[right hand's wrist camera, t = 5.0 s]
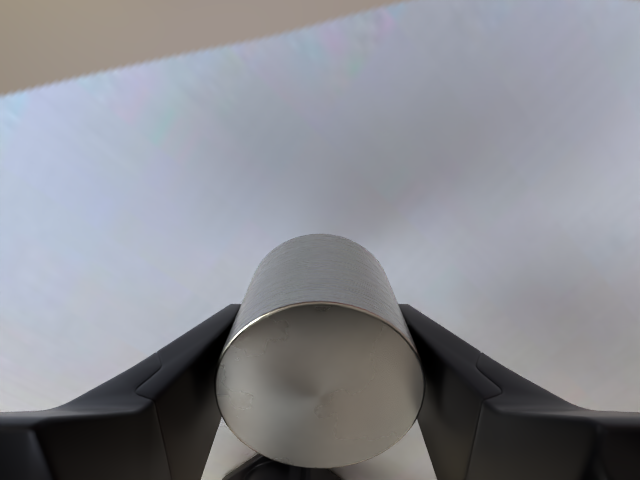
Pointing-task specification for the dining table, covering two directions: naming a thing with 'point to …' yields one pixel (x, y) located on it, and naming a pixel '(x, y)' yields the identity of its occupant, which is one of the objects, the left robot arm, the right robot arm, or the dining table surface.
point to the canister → (319, 358)
